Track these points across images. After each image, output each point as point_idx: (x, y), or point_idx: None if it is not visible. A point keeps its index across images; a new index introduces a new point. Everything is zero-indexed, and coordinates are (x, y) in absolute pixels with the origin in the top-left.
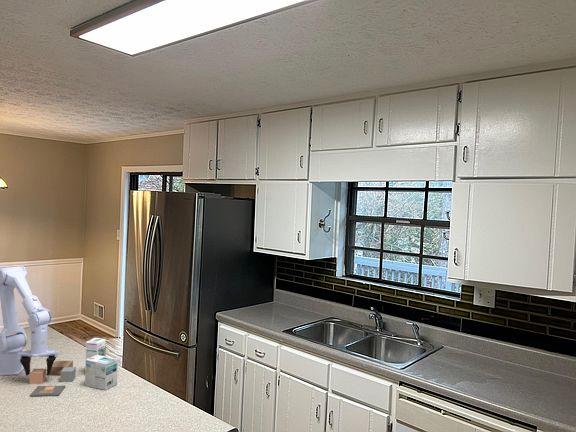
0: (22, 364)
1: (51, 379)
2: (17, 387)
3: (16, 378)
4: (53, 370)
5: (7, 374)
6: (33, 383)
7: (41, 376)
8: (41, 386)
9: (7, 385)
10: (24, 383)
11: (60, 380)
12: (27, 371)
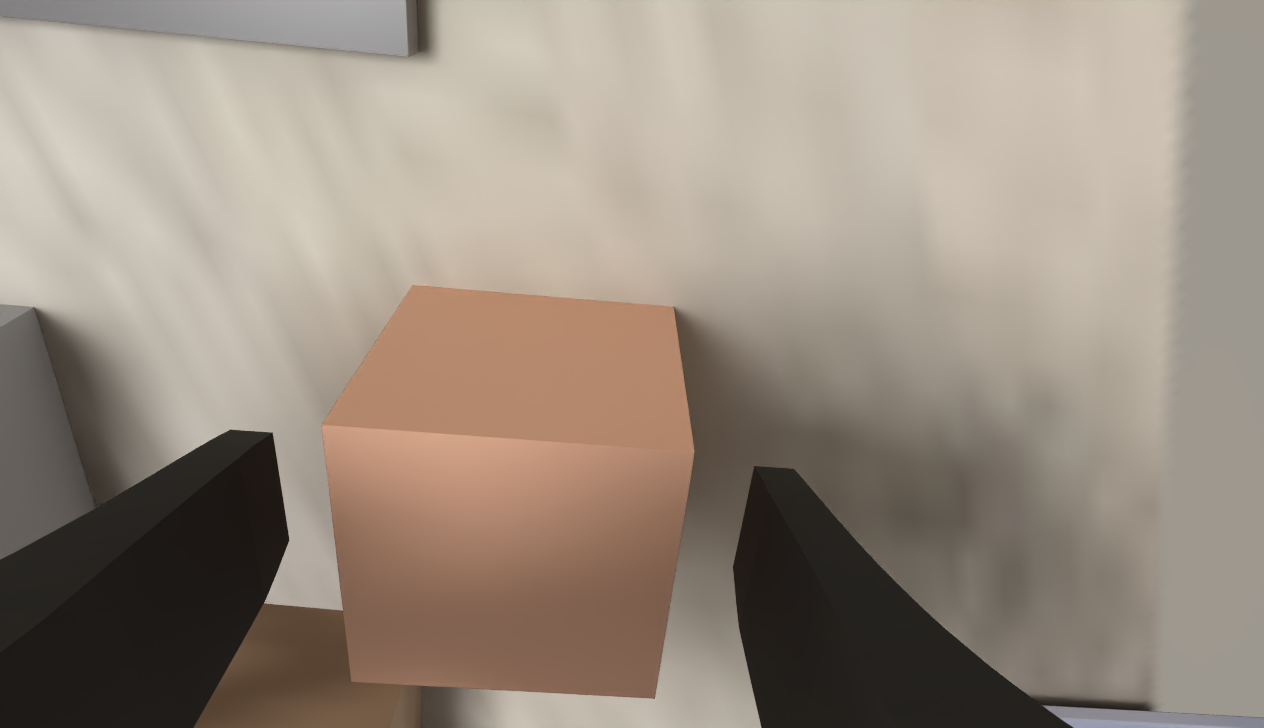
0: (1056, 723)
1: (305, 468)
2: (899, 152)
3: (962, 584)
4: (310, 700)
5: (1120, 714)
6: (593, 306)
7: (378, 368)
8: (295, 8)
9: (1112, 300)
10: (785, 352)
11: (1, 325)
12: (784, 536)
